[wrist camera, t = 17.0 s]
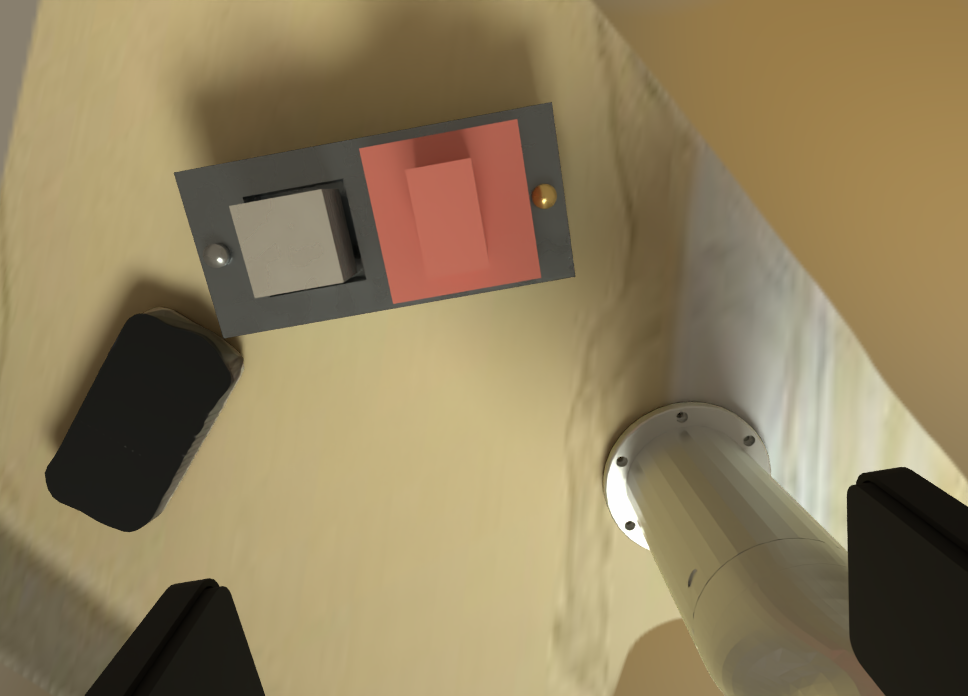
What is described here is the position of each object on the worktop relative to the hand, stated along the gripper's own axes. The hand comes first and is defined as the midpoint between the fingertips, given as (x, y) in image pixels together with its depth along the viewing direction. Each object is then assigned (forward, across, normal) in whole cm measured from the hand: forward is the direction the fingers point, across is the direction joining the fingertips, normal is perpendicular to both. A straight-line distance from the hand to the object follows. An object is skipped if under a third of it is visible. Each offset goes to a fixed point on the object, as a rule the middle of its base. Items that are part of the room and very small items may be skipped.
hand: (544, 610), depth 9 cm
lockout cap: (+28, +2, -5) cm, 29 cm away
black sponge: (+35, +26, +6) cm, 44 cm away
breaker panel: (+34, +6, -5) cm, 35 cm away
